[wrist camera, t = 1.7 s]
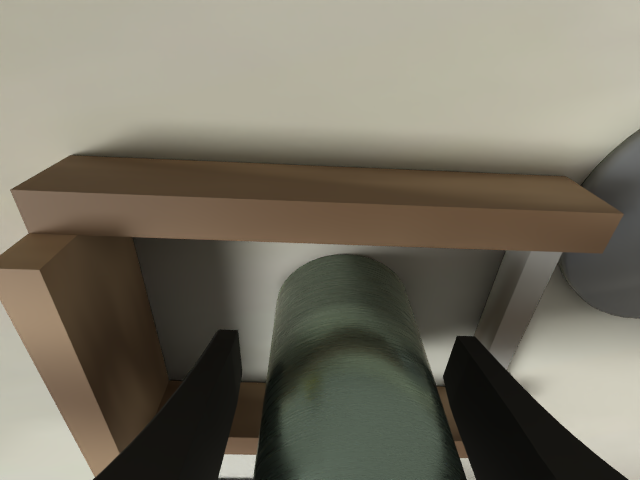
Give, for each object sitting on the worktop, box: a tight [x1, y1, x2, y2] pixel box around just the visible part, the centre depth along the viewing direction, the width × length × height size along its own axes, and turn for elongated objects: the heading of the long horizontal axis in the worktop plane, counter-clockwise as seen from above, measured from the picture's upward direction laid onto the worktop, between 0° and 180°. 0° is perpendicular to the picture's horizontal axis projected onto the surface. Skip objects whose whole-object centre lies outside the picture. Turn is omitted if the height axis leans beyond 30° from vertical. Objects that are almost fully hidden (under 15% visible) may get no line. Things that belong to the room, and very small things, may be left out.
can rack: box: [0, 155, 624, 477], centre depth 12 cm, size 11×15×4 cm
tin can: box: [253, 254, 467, 480], centre depth 11 cm, size 5×5×8 cm
